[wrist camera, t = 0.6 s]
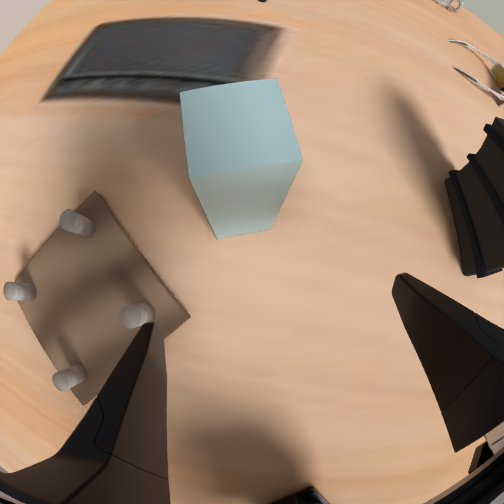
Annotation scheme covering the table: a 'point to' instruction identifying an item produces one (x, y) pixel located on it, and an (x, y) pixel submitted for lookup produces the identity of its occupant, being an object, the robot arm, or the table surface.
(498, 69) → the sunglasses
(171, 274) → the table surface
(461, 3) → the mug
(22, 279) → the pin stand
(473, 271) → the black ridged slab
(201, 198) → the block
